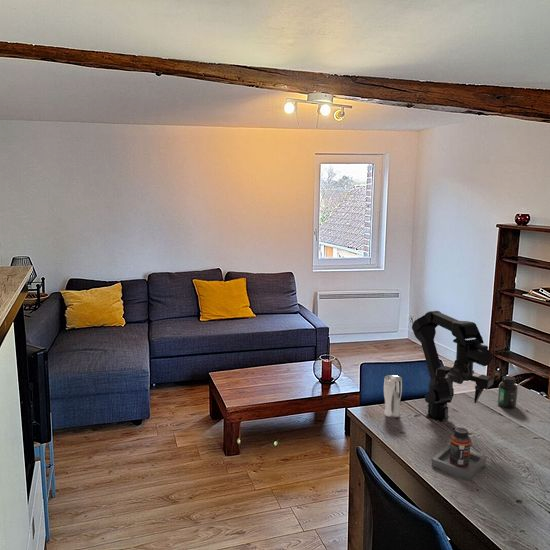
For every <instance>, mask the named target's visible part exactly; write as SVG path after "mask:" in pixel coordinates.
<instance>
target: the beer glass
mask: <svg viewBox="0 0 550 550" xmlns="http://www.w3.org/2000/svg"><path fill="white" fill-rule="evenodd" d="M402 394H403V378H402V377H401V376H398V375H394V374H388V375H385V376H384V382H383V397H384V411H383V415H384V416H385V417H387V418H390V417H391V419H394V418H398V417H400V415H401V414H400V402H401V398H402Z"/></svg>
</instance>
